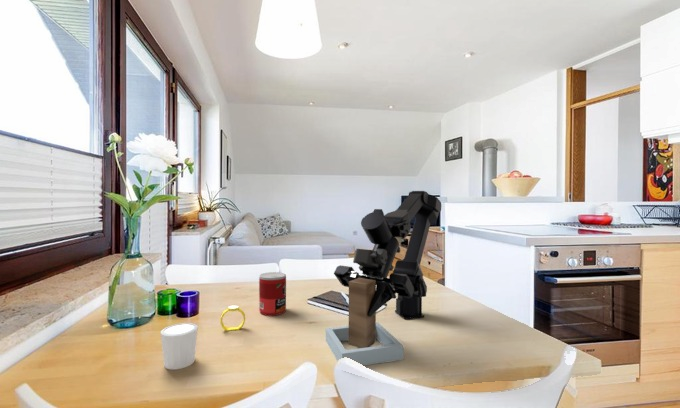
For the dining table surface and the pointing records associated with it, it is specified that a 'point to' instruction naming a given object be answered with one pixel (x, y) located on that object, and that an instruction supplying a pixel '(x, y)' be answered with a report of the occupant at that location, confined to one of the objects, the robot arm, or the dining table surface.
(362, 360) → the frame
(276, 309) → the canned food
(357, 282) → the tall wooden post
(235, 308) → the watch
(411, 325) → the dining table surface
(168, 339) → the white cup
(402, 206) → the robot arm
